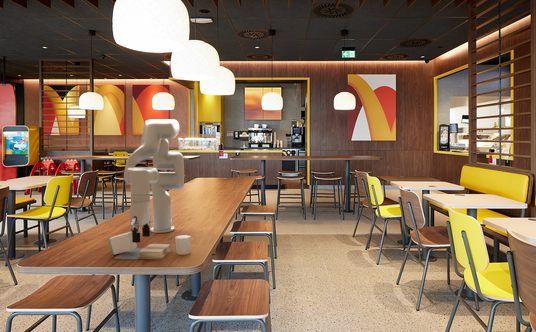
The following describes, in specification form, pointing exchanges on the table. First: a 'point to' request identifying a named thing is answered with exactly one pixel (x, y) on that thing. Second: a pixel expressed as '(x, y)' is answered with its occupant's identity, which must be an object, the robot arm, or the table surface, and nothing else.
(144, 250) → the birch step
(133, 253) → the grey mat
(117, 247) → the cream block
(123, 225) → the table surface
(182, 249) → the pale pink cylinder
